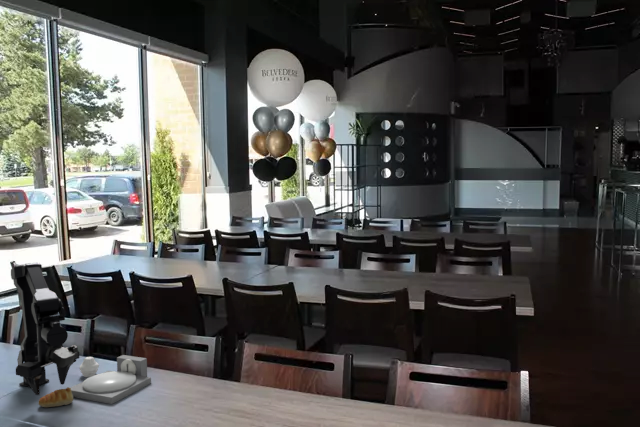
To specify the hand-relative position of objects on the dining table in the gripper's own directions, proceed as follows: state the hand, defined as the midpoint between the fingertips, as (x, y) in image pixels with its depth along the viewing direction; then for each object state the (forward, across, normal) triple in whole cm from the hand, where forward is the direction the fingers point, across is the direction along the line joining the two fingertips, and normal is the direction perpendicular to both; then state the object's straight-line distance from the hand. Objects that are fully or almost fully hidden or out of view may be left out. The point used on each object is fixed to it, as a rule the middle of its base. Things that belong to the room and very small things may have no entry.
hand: (50, 389), depth 171 cm
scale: (+4, +15, -9) cm, 18 cm away
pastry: (+5, 0, 0) cm, 5 cm away
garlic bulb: (+4, +21, +6) cm, 23 cm away
